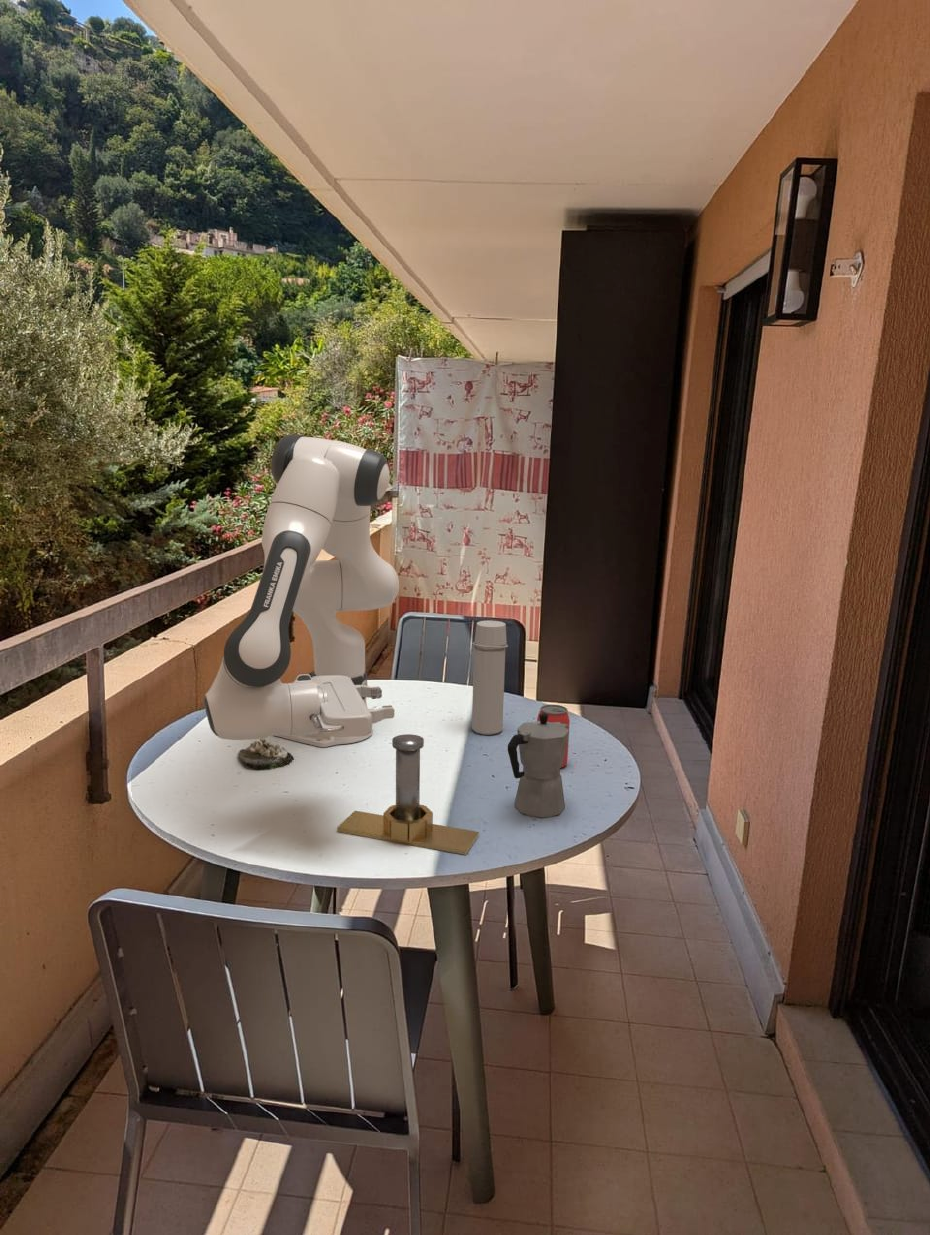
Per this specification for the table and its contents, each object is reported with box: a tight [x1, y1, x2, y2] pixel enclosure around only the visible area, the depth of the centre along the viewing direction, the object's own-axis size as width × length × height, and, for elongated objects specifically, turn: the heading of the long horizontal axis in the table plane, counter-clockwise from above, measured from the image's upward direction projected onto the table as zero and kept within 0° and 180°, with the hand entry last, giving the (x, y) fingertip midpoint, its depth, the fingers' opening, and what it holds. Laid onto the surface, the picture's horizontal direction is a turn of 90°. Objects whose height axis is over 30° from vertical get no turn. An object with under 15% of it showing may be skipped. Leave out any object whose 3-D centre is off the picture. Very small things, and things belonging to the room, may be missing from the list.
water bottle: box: [471, 620, 509, 736], centre depth 196 cm, size 9×8×25 cm
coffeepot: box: [507, 713, 570, 819], centre depth 156 cm, size 15×9×18 cm, turn 133°
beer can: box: [536, 704, 571, 769], centre depth 178 cm, size 7×7×12 cm
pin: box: [391, 733, 425, 822], centre depth 145 cm, size 5×5×16 cm
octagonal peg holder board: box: [336, 804, 480, 856], centre depth 147 cm, size 23×8×4 cm, turn 72°
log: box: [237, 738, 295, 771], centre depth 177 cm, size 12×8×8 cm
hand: (387, 701), depth 149 cm, fingers open, 8 cm apart
